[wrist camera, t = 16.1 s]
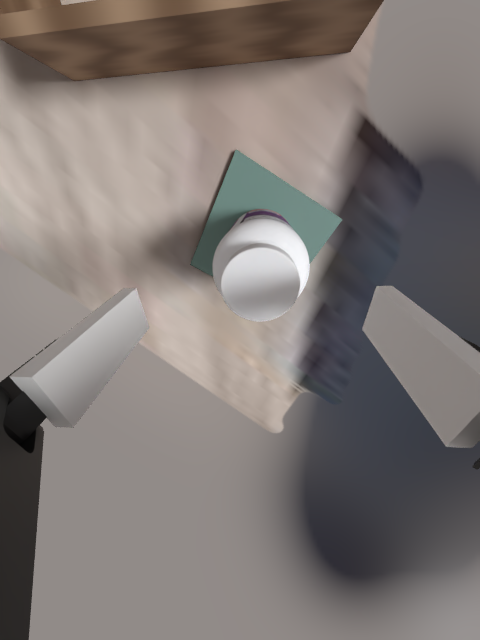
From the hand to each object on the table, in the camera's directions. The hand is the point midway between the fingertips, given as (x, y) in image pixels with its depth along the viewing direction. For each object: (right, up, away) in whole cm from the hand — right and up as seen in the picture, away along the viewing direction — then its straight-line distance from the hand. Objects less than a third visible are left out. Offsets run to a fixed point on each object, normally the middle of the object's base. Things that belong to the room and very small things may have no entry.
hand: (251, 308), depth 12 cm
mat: (+2, +9, +15) cm, 18 cm away
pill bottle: (+2, +9, +15) cm, 18 cm away
